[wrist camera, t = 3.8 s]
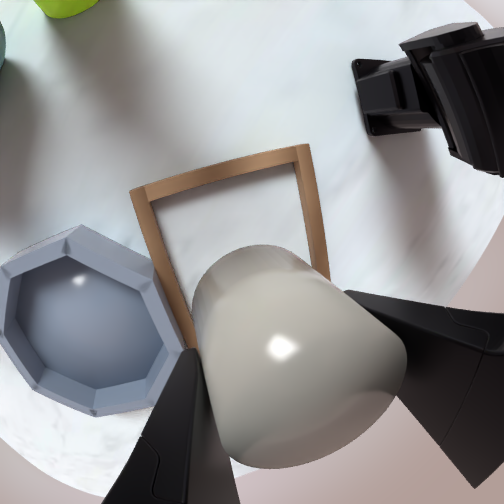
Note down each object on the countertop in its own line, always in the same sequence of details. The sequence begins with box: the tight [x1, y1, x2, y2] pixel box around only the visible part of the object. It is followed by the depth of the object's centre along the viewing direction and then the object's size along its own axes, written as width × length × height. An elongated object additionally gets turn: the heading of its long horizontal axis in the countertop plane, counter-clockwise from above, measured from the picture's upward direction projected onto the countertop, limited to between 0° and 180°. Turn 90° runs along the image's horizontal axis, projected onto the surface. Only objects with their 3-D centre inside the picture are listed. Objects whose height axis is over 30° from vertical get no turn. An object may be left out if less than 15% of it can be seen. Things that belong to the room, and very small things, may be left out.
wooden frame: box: [129, 144, 331, 355], centre depth 21 cm, size 12×20×1 cm, turn 14°
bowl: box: [0, 225, 185, 417], centre depth 17 cm, size 14×14×3 cm
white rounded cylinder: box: [192, 245, 407, 469], centre depth 7 cm, size 4×4×5 cm
